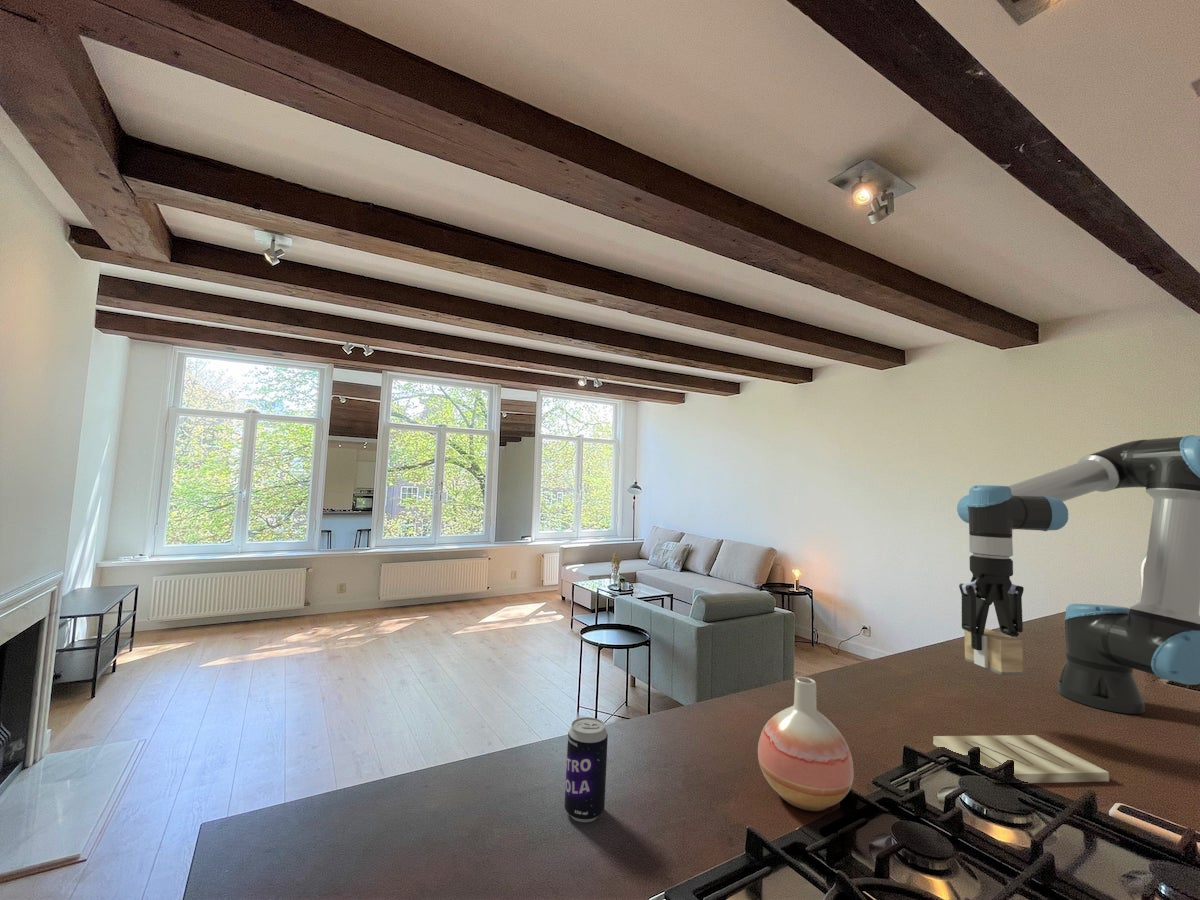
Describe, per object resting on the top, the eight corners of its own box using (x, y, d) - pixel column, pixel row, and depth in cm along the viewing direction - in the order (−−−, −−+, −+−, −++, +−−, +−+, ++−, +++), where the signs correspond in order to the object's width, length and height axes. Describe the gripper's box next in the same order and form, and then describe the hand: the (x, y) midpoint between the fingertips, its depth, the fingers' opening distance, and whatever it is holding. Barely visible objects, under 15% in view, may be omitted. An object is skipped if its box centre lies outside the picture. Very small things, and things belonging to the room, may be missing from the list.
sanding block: (964, 660, 113) (964, 628, 113) (985, 660, 113) (984, 628, 114) (1001, 675, 104) (1000, 640, 104) (1023, 674, 105) (1022, 640, 105)
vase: (875, 821, 73) (876, 694, 74) (794, 834, 69) (797, 701, 70) (810, 769, 86) (812, 662, 87) (739, 778, 82) (742, 666, 83)
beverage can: (563, 800, 74) (568, 715, 75) (602, 800, 75) (606, 716, 75) (564, 826, 68) (569, 734, 69) (606, 826, 69) (610, 734, 70)
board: (1035, 742, 100) (1035, 735, 100) (1109, 781, 87) (1108, 772, 87) (933, 744, 97) (933, 736, 97) (993, 783, 84) (993, 774, 84)
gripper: (1011, 554, 115) (1014, 659, 114) (939, 552, 113) (940, 659, 111) (1044, 559, 108) (1047, 671, 106) (967, 557, 106) (969, 672, 104)
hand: (992, 665), depth 109 cm, fingers closed on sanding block, 5 cm apart
